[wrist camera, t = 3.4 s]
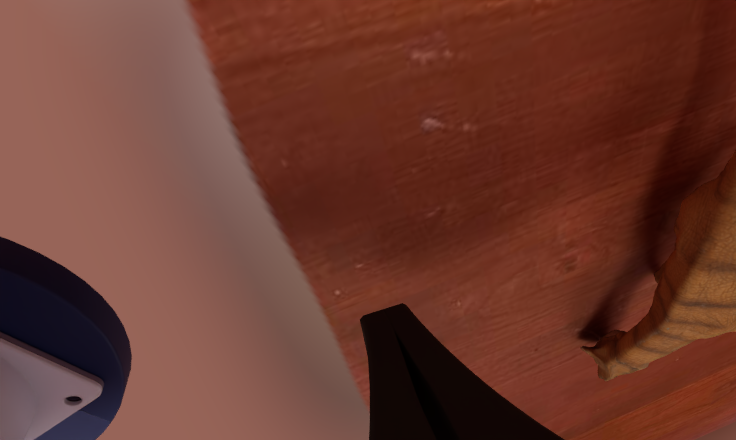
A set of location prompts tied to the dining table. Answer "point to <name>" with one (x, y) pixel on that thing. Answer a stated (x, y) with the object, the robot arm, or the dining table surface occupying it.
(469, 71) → the dining table surface
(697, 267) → the dinosaur figurine
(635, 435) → the dining table surface
